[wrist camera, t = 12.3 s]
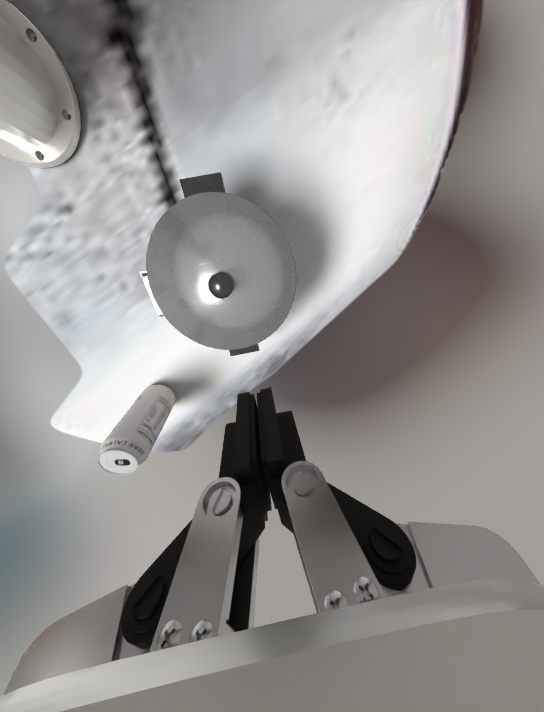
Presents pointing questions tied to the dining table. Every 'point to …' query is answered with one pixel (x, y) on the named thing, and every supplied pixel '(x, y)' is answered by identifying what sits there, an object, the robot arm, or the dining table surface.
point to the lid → (220, 270)
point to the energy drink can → (137, 431)
